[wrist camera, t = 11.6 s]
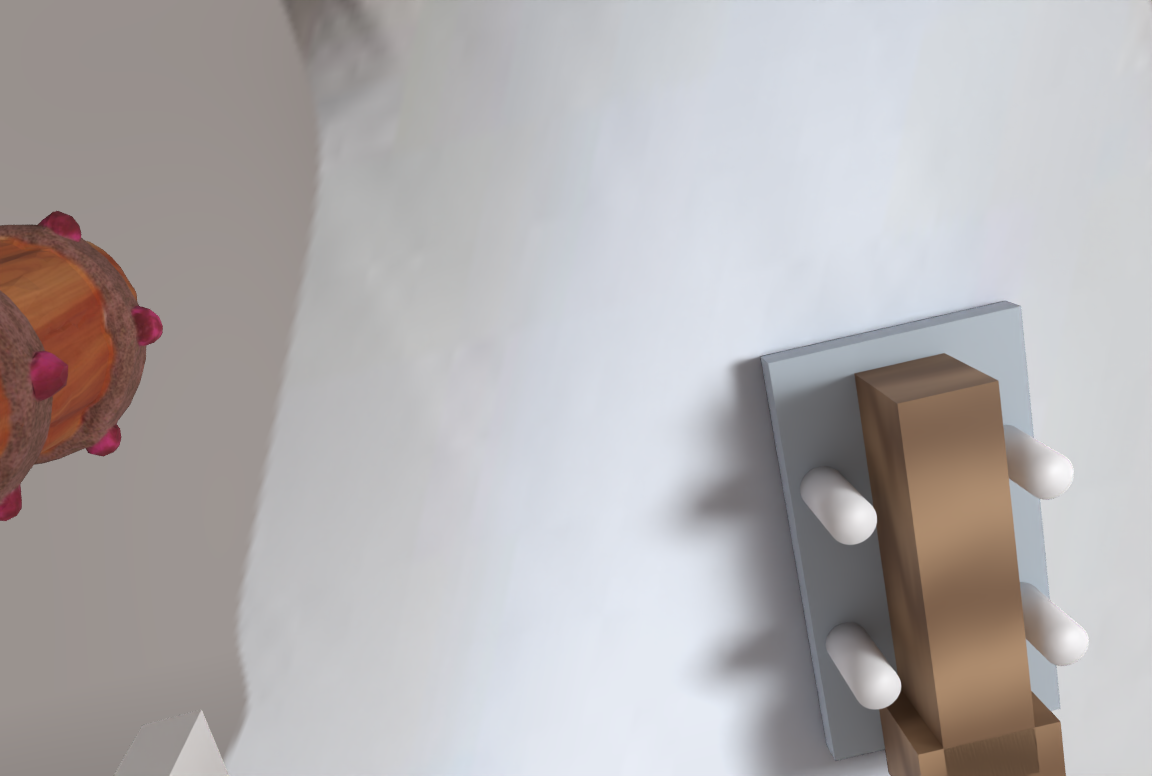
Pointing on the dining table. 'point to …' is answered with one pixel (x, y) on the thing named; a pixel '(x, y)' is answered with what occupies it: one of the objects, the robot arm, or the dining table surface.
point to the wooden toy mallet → (951, 576)
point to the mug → (63, 349)
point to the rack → (848, 519)
